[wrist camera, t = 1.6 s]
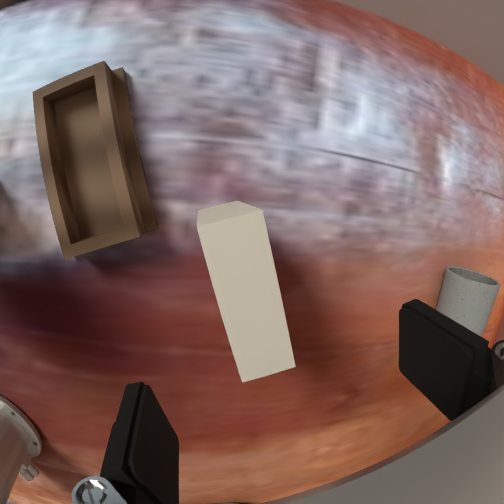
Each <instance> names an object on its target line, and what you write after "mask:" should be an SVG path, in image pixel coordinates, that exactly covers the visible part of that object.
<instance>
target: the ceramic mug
mask: <svg viewBox="0 0 504 504" xmlns="http://www.w3.org/2000/svg"><path fill="white" fill-rule="evenodd" d="M499 287H500V284H499V283H498V281H496V280H495V279H493V278H491V277H489V276H487V275H485V274H482V273H479V272H476V271H473V270H469V269H465V268H460V267H453V266H450V267H447V268H446V269H445V274H444V279H443V283H442V287H441V291H440V295H439V299H438V303H437V306H436V310H437V311H439V312H440V313H442V314H444V315H446V316H447V317H449V318H451V319H452V320H454V321H456V322H457V323H459V324H461V325H462V326H464V327H466V328H467V329H469V330H471V331H472V332H474V333H476V334H477V335H479V336H481V335H482V333H483V331H484V329H485V326H486V323H487V320H488V318H489V315H490V313H491V310H492V307H493V305H494V302H495V299H496V296H497V293H498V290H499Z"/></svg>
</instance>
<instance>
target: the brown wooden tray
mask: <svg viewBox="0 0 504 504" xmlns="http://www.w3.org/2000/svg"><path fill="white" fill-rule="evenodd" d="M33 102H34V114H35V124H36V132H37V140H38V147H39V154H40V160H41V166H42V171H43V177H44V182H45V187H46V191H47V196H48V200H49V205H50V209H51V213H52V217H53V221H54V225H55V228H56V232H57V236H58V239H59V242H60V246H61V249H62V252H63V256H64V259H68V258H72V257H75V256H78V255H81V254H84V253H87V252H91V251H94V250H97V249H101V248H104V247H107V246H111V245H114V244H117V243H121V242H124V241H127V240H131V239H134V238H138V237H141V236H142V235H143V234H144V233H145V232H148V231H151V230H155V229H157V228H158V225H157V221H156V217H155V213H154V210H153V206H152V202H151V198H150V194H149V190H148V186H147V182H146V177H145V173H144V169H143V164H142V160H141V155H140V151H139V146H138V141H137V137H136V132H135V127H134V122H133V116H132V111H131V105H130V100H129V94H128V88H127V82H126V76H125V71H124V69H123V67H122V68H119V69H116V70H113V71H112V70H111V69H110V68H109V66H108V65H107V64H106V62H105V61H103V62H100V63H97V64H94V65H92V66H89V67H87V68H84V69H82V70H79V71H77V72H74V73H72V74H70V75H67V76H65V77H63V78H61V79H59V80H56V81H54V82H52V83H50V84H48V85H46V86H44V87H42V88H40V89H38V90H36V91H34V92H33Z"/></svg>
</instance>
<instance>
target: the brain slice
mask: <svg viewBox="0 0 504 504" xmlns="http://www.w3.org/2000/svg"><path fill="white" fill-rule="evenodd" d="M213 504H240V503H235V502H227V503H213Z"/></svg>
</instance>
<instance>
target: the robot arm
mask: <svg viewBox="0 0 504 504" xmlns="http://www.w3.org/2000/svg"><path fill="white" fill-rule="evenodd" d="M488 344H489V341H487V340H486V339H484V338H482V337H481V336H479V335H477V334H476V333H474V332H472V331H471V330H469V329H467V328H466V327H464V326H462V325H461V324H459V323H457V322H456V321H454V320H452V319H451V318H449V317H447V316H446V315H444V314H442V313H440V312H439V311H437V310H435V309H434V308H432V307H430V306H428V305H427V304H425V303H423V302H421V301H420V300H418V299H414V300H411V301H409V302H407V303H404V304H403V305H402V309H400V311H399V369H400V371H401V373H402V374H403V375H404V376H405V377H406V378H407V379H408V380H409V381H410V382H411V383H412V384H413V385H414V386H415V387H416V388H418V389H419V390H420V391H421V392H422V393H423V394H424V395H425V396H426V397H427V398H428V399H429V400H430V401H431V402H432V403H433V404H434V405H435V406H436V407H437V408H438V409H439V410H440V411H441V412H442V413H443V414H444V415H445V416H446V417H447V418H448V419H449V420H451V422H450V423H448V424H447V425H445V426H444V427H442V428H440V429H439V430H437V431H436V432H434V433H432V434H431V435H429V436H427V437H426V438H424V439H422V440H420V441H419V442H417V443H415V444H413V445H412V446H410V447H408V448H406V449H404V450H402V451H400V452H398V453H396V454H395V455H393V456H391V457H389V458H387V459H384V460H382V461H380V462H378V463H376V464H374V465H372V466H370V467H367V468H365V469H363V470H360V471H358V472H356V473H353V474H351V475H349V476H346V477H344V478H341V479H338V480H336V481H333V482H331V483H328V484H325V485H322V486H319V487H316V488H313V489H310V490H307V491H304V492H301V493H298V494H295V495H291V496H288V497H284V498H281V499H277V500H273V501H269V502H265V503H261V504H504V340H500V341H498V342H496V343H495V344H494V345H493V346H492V348H491V349H490V348H488ZM41 449H42V441H41V438H40V435H39V433H38V432H37V430H36V428H35V427H34V425H33V424H32V422H31V421H30V420H29V419H28V418H27V417H26V415H25V414H24V413H23V412H22V411H21V410H20V409H18V408H17V407H16V406H15V405H14V404H12V403H11V402H10V401H8V400H7V399H6V398H4V397H2V396H0V504H6V503H7V500H8V498H9V495H10V493H11V490H12V488H13V486H14V483H15V481H16V478H17V476H18V474H19V472H20V474H21V475H22V476H23V477H24V478H25V479H26V480H27V481H31V480H33V478H34V476H35V477H36V476H38V475H39V471H38V470H37V469H36V468H35V467H34V466H33V465H32V464H31V460H32V458H34V457H37V456H38V455H39V454H40V451H41ZM72 502H73V504H179V441H178V437H177V435H176V433H175V431H174V430H173V428H172V426H171V424H170V423H169V421H168V419H167V417H166V416H165V414H164V412H163V410H162V408H161V406H160V404H159V403H158V401H157V399H156V397H155V395H154V393H153V391H152V389H151V387H150V386H149V385H145V384H144V383H143V382H138V383H133V384H128V385H127V386H126V388H125V391H124V395H123V398H122V402H121V405H120V408H119V412H118V416H117V419H116V422H115V423H114V424H113V426H112V430H111V434H110V437H109V441H108V445H107V449H106V453H105V456H104V460H103V465H102V469H101V473H100V476H91V477H87V478H85V479H83V480H81V481H80V482H79V483H77V484H76V486H75V487H74V489H73V491H72Z"/></svg>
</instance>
